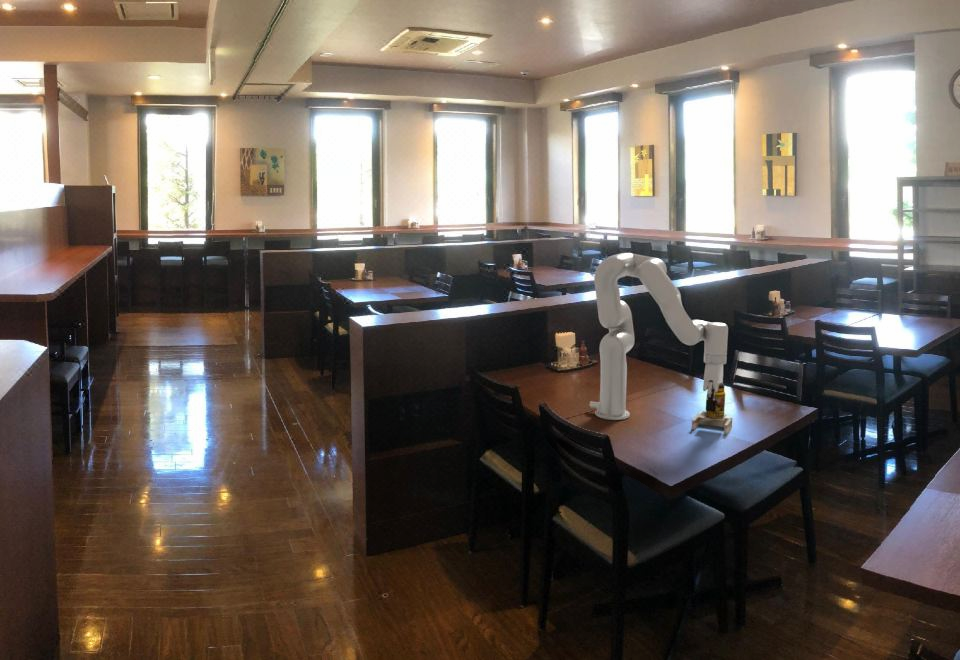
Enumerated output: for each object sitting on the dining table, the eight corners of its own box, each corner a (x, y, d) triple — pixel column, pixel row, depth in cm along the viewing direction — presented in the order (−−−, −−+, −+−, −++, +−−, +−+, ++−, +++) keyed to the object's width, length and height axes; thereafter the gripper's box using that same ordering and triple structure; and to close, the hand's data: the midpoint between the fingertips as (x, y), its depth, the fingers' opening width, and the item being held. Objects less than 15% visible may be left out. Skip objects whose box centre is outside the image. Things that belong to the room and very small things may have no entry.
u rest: (691, 429, 267) (692, 420, 267) (697, 422, 275) (697, 413, 274) (726, 434, 262) (727, 425, 261) (731, 427, 269) (732, 418, 269)
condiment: (722, 421, 261) (724, 387, 259) (697, 417, 265) (699, 384, 263) (727, 415, 268) (728, 382, 265) (702, 412, 272) (704, 379, 269)
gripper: (709, 352, 272) (707, 400, 275) (698, 362, 257) (696, 413, 260) (731, 354, 268) (728, 403, 272) (721, 364, 253) (718, 416, 257)
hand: (712, 408), depth 266 cm, fingers closed on condiment, 6 cm apart
